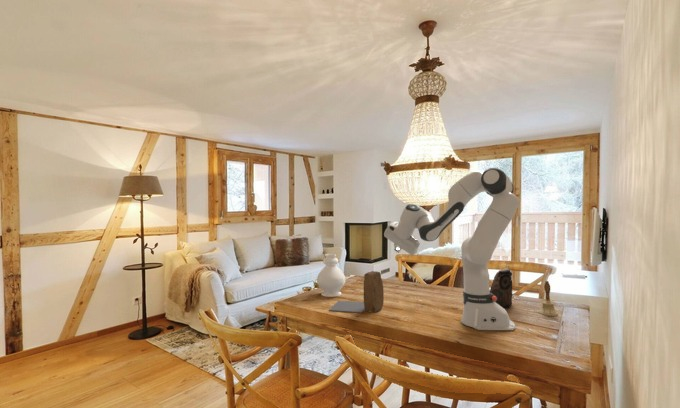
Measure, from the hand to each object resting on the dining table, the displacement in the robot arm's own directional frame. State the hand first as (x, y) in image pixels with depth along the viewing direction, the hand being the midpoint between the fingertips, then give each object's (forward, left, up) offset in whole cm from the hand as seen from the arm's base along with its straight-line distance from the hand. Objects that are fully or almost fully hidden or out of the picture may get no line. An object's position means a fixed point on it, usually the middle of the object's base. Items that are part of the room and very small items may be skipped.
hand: (396, 251), depth 188 cm
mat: (+25, +9, -30) cm, 40 cm away
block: (+11, +11, -30) cm, 34 cm away
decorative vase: (+43, -15, -30) cm, 55 cm away
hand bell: (-74, -1, -30) cm, 80 cm away
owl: (-54, -12, -30) cm, 63 cm away
